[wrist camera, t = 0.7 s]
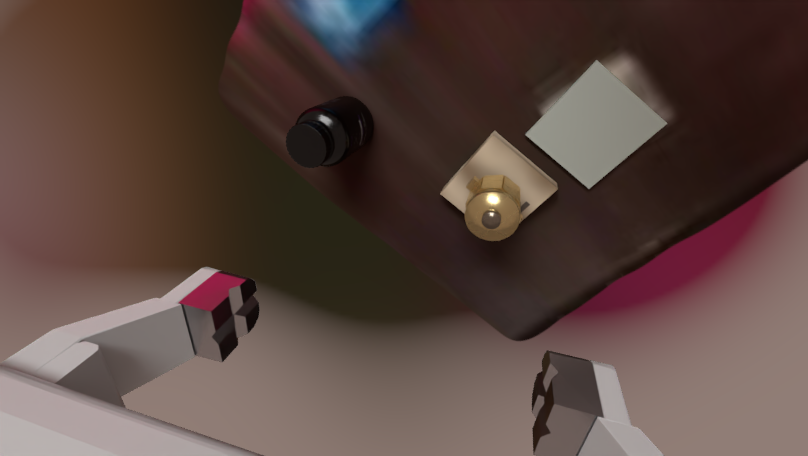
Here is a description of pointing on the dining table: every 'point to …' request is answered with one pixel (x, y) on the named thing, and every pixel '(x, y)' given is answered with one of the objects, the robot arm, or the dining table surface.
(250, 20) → the dining table surface
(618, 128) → the coaster
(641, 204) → the dining table surface
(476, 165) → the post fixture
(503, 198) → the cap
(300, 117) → the supplement bottle
